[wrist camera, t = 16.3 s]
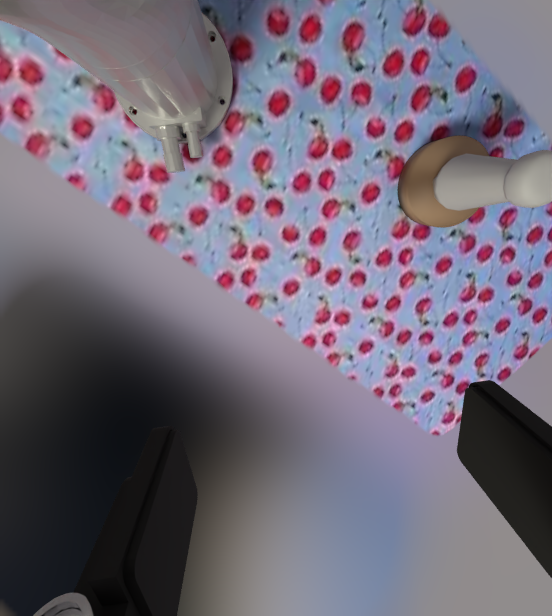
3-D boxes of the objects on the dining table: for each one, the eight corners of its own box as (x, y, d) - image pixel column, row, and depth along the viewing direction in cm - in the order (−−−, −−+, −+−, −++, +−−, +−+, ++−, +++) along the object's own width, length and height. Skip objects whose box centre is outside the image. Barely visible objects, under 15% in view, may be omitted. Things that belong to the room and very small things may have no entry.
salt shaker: (457, 144, 34) (571, 117, 22) (482, 184, 36) (599, 180, 24) (415, 182, 35) (501, 177, 23) (441, 219, 37) (533, 232, 25)
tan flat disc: (469, 220, 40) (485, 222, 38) (396, 229, 40) (407, 232, 37) (479, 135, 37) (498, 130, 34) (398, 144, 36) (411, 141, 34)
